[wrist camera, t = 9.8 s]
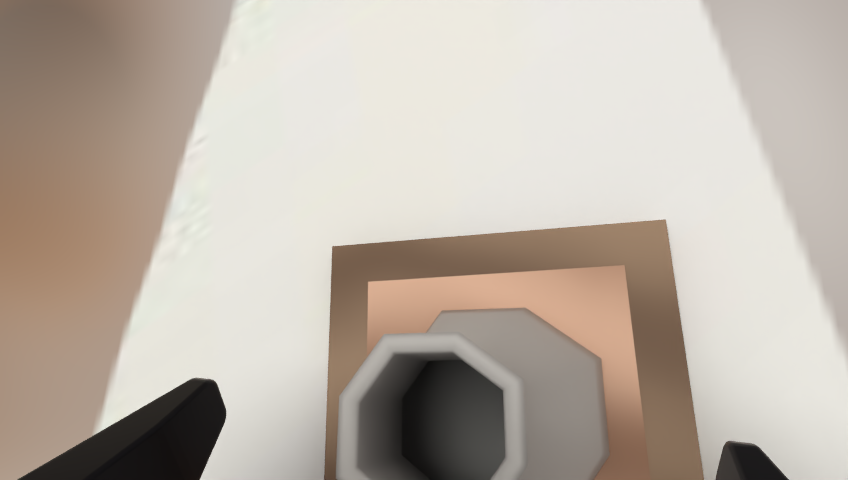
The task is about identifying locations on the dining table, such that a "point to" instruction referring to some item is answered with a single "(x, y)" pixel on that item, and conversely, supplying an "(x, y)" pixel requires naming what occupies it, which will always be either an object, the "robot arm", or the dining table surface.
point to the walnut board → (550, 300)
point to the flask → (475, 403)
